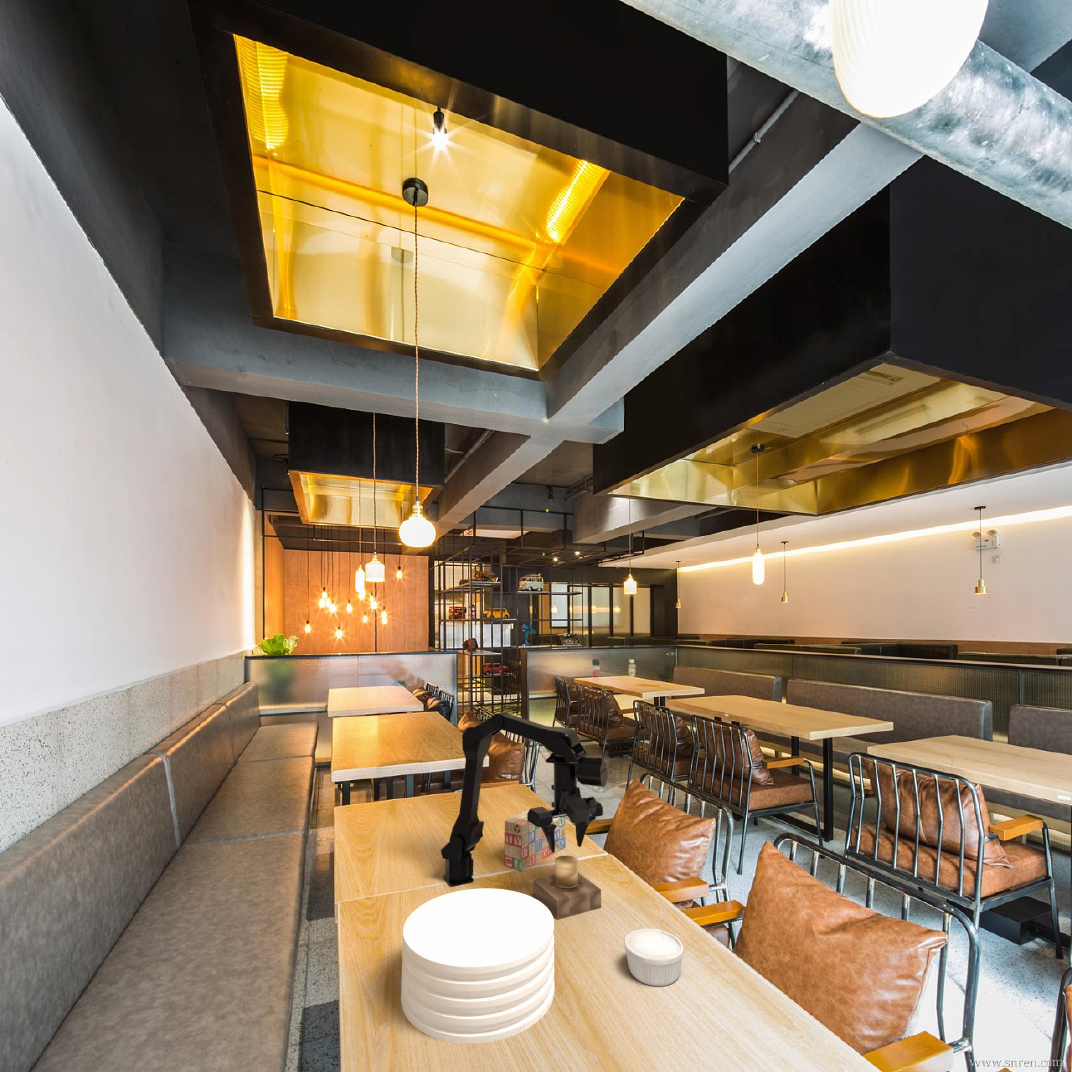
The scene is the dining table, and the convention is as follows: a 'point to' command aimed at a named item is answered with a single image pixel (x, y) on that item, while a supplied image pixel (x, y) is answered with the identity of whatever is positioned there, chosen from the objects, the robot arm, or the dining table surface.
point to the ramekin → (654, 956)
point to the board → (567, 896)
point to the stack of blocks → (529, 841)
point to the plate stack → (477, 965)
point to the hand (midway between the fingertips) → (566, 849)
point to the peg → (566, 872)
